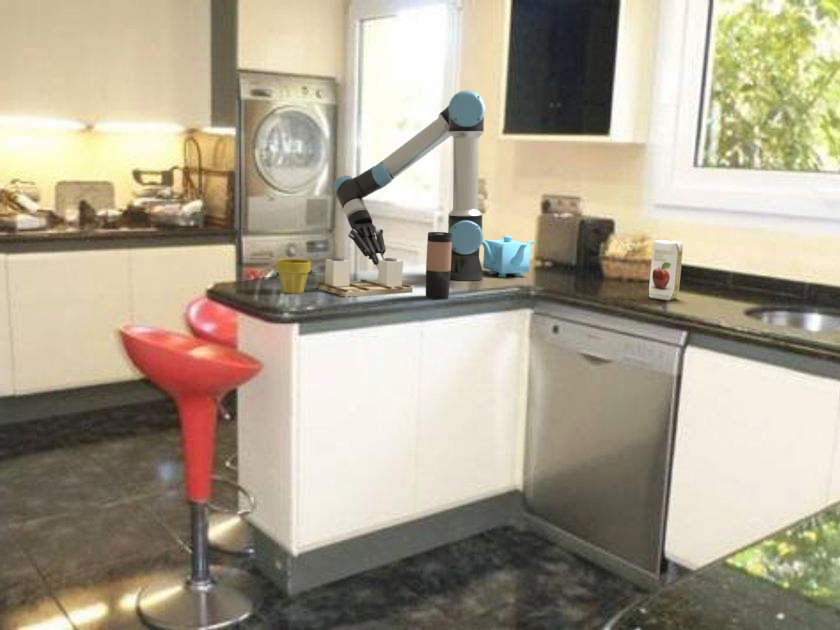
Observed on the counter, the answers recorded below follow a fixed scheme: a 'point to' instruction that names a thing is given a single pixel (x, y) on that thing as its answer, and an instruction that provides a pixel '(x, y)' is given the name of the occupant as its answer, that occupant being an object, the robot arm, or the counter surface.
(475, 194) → the robot arm
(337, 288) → the wooden tray
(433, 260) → the travel mug
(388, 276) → the button
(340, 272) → the button
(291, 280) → the plant pot
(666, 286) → the juice carton
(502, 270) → the teakettle
